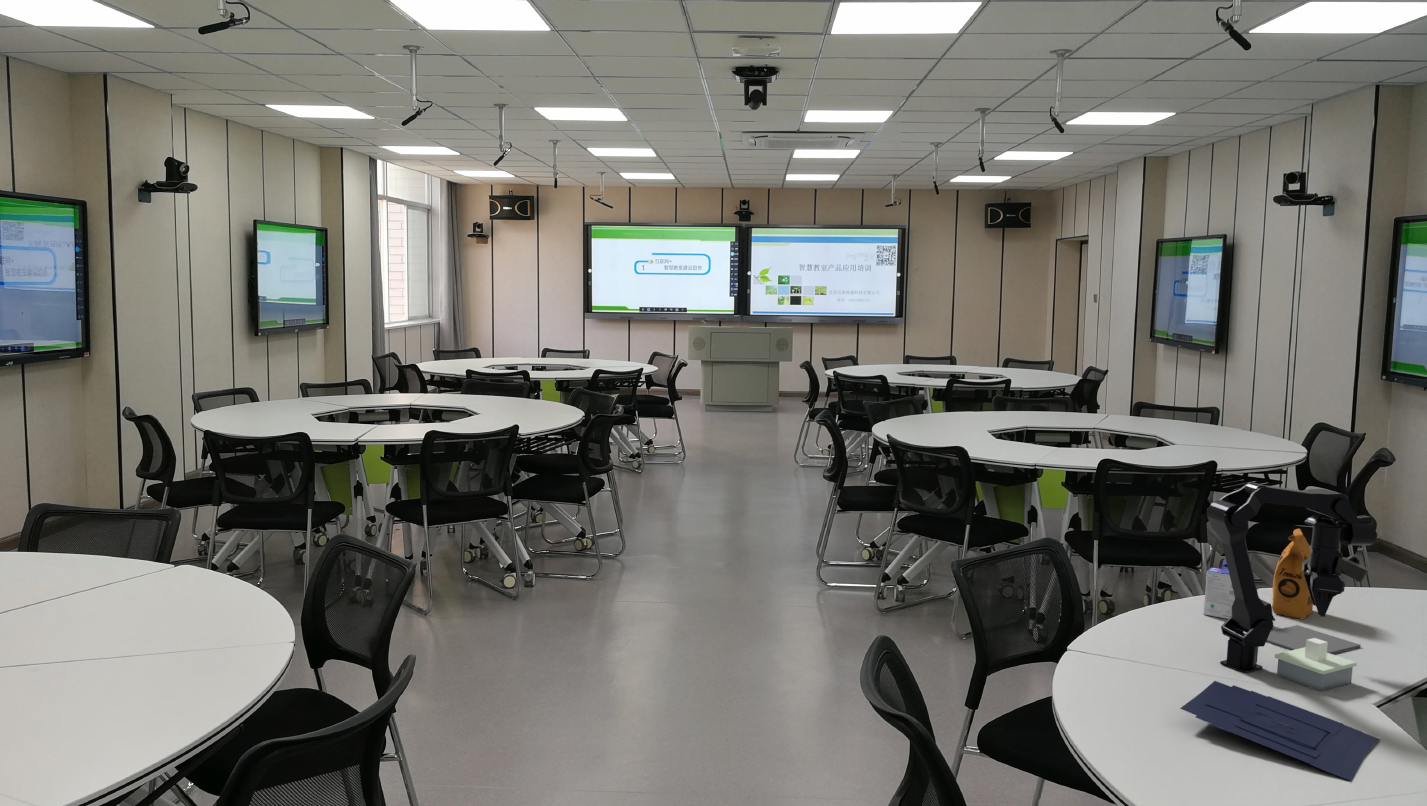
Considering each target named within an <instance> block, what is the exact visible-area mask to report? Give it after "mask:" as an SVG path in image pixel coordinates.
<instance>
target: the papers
mask: <svg viewBox="0 0 1427 806" xmlns="http://www.w3.org/2000/svg"><path fill="white" fill-rule="evenodd" d="M1179 709H1180V710H1183V711H1184V712H1187V713H1190V714H1193V715H1194V716H1195V718H1196V719H1199V720H1201V721H1203V722H1206V723H1209V724H1211V725H1212V726H1213V727H1216V728H1218V729H1221V730H1223V731H1225V732H1228V733H1230V734H1235V735H1237V736H1240V737H1242V738H1245V739H1247V740H1250V741H1252V742H1255V743H1257V744H1260V745H1262V746H1265V747H1267V748H1270V749H1272V750H1274V751H1278V752H1279V753H1283V754H1285V755H1287V756H1290V757H1292V758H1294V759H1297V760H1299V761H1303V762H1305V763H1306V764H1308V765H1310V766H1312V767H1313V766H1314V767H1315V768H1317V769H1320V770H1322V771H1325V772H1327V773H1330V774H1333V775H1335V776H1338V777H1340V778H1343V779H1346V780H1348V781H1351V780H1352V779H1353V777H1354V775H1355V773H1356V771H1357V770H1358V768H1359V765H1360V764H1361V762H1362V760H1363V758H1364V757H1365V756H1366V755H1367V754H1368V752H1370V751H1371V749H1372V748H1373V747H1374V746H1375V745H1376V744H1377V743H1379V741H1380V740H1381V739H1380V738H1378V737H1376V736H1374V735H1370V734H1368V733H1365V732H1363V731H1361V730H1359V729H1356V728H1354V727H1351V726H1349V725H1346V724H1344V723H1342V722H1340V721H1337V720H1334V719H1331V718H1328V717H1327V716H1323V715H1320V714H1318V713H1315V712H1312V711H1311V710H1307V709H1304V708H1301V707H1299V706H1297V705H1293V704H1291V703H1289V702H1285V701H1282V700H1280V699H1278V698H1274V697H1271V696H1267V695H1264V694H1261V693H1258V692H1256V691H1253V690H1249V689H1246V688H1243V687H1241V686H1237V685H1235V684H1233V685H1232V686H1230V685H1227V684H1225V683H1222V682H1220V681H1217V680H1214V681H1212V682H1211V684H1209V685H1208V686H1207V687H1206V688H1204V689H1203V690H1202V691H1201V692H1200V693H1198V694H1197V695H1196V696H1194V697H1193V698H1192V699H1190V700H1189V701H1188V702H1187V703H1185V704H1184V705H1182V706H1181V707H1180V708H1179Z"/></svg>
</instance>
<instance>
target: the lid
mask: <svg viewBox="0 0 1427 806" xmlns="http://www.w3.org/2000/svg"><path fill="white" fill-rule="evenodd" d="M1327 646H1328V642H1326V641H1323V640H1320V639H1317V638H1312V639H1308V640H1306V647H1304V648H1300V649H1295V650H1288V651H1284V652H1278V653H1275V654H1274V658H1275V659H1277V660H1278V659H1280V660H1283V661H1285V662H1288V663H1291V664H1294V665H1297V666H1300V667H1303V668H1306V669H1308V670H1311V671H1314V672H1317V673H1320V674H1327V673H1331V672H1335V671H1339V670H1342V669H1346V668H1350V667H1353V668H1354V667H1357V663H1358V662H1356V661H1354V660H1350V659H1347V658H1344V657H1342V656H1339V655H1336V654H1330V653H1327Z"/></svg>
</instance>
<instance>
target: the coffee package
mask: <svg viewBox="0 0 1427 806" xmlns="http://www.w3.org/2000/svg"><path fill="white" fill-rule="evenodd" d="M1287 539H1288V540H1289V541H1291V542H1290V543H1289V544H1288V545H1287V546H1286V547H1285V548H1284V549H1283V551H1282V552H1281V555H1280V556H1279V559H1278V561H1277V562H1276V563H1277V564H1276V567H1275V571H1274V575H1273V581H1272V604H1271V607H1272V612H1273V613H1274V614H1276V615H1281V616H1283V617H1292V618H1295V619H1299V620H1305V619H1306V617H1307V616H1309V615H1311V614H1312V612H1313V607H1314V605H1313V603H1312V599H1311V596H1310V593H1309V590H1308V587H1307V584H1306V581H1305V578H1304V575H1303V570H1302V563H1303V561H1304V560H1306V559H1310V553H1311V551H1310V550H1309V548H1310V544H1309V543H1308V541H1307V539H1306V537H1305V536H1304V534H1303V532H1302V529H1301V528H1296V529H1294V530H1293V533H1292V534H1291V535H1290V536H1288V538H1287ZM1306 572H1307V571H1306Z"/></svg>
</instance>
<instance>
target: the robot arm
mask: <svg viewBox="0 0 1427 806" xmlns="http://www.w3.org/2000/svg"><path fill="white" fill-rule="evenodd" d="M1265 504H1273V505H1278V506H1279V505H1280V506H1287V507H1294V508H1300V509H1306V510H1309V511H1312V512H1315V513H1313V514H1312V515H1311V516H1310V517H1307V518H1306V520H1304V523H1305V524H1307V525H1308V526H1309V525H1310V526H1312V534H1311V535H1312V536H1311V544H1309V546H1310V548H1309V550H1310V551H1311V553H1310V559H1306V560H1304V561H1303V563H1302V570H1303V575H1304V578H1305V581H1306V584H1307V587H1308V590H1309V593H1310V596H1311V599H1312V603H1313V607H1315V608H1316V610H1317V611H1316V612H1317V613H1318V616H1319V617H1323V618H1324V617H1325V616H1326V614H1327V612H1328V610H1329V608H1330V605H1331V602H1332V600H1333V598H1334V597H1336V596H1337V595H1341V594H1342V593H1344V592H1345V588H1346V587H1345V585H1346V584H1345V582H1344V580H1343V579H1342V578H1341V576H1342V575H1345V576H1347V577H1349V578H1351V579H1353V580H1355V581H1356V582H1359V583H1363V581H1364V579H1365V577H1366V576H1367V574H1368V572H1369V569H1368V568H1367V567H1366V566H1364V564H1361V563H1360V558H1359V557H1357V556H1354V555H1352V554H1351V555H1349V556H1348V557H1346V556H1345V557H1344V555H1343V553H1342V552H1341V544H1342V545H1344V546H1372V545H1374V544H1375V543H1376V542H1377V539H1378V533H1377V530H1376V529H1377V528H1376V526H1375V525H1374V523H1373V522H1372V516H1367V515H1362V514H1361V515H1358V516H1357V514H1356V513H1355V511H1354V509H1353V507H1352V505H1351V501H1350V498H1349V497H1348V496H1347V495H1346V494H1344V493H1340V492H1337V491H1333V490H1331V489H1326V488H1311V489H1307V490H1306V489H1305V490H1300V489H1292V488H1286V487H1280V486H1272V485H1265V484H1261V483H1257V482H1249V483H1246V484H1244V485H1243V486H1242V487H1241V488H1239V489H1237V490H1235V491H1232V492H1229V493H1228V494H1225V495H1224V496H1222V497H1221V498H1220V499H1219V500H1215V501H1213V502H1211V504H1210V505H1209V507H1208V508H1207V510H1206V517H1207V519H1208V522H1209V524H1210V526H1211V528H1212V530H1213V531H1214V533H1215V534H1216V535H1217V537H1218V538H1219V540H1220V542H1221V546H1222V549H1223V553H1224V557H1225V561H1226V562H1227V564H1226V567H1228V570H1229V574H1230V579H1231V583H1232V587H1233V591H1234V595H1235V600H1234V602H1233V605H1232V616H1231V617H1230V618H1229V619H1227V620H1226V621H1224V622H1223V624H1222V625H1221V626H1220V629H1221V632H1222V635H1223V636H1226V637H1228V639H1227V650H1226V659H1224V660H1220V662H1219V664H1221V665H1223V666H1226V667H1228V668H1231V669H1234V670H1237V671H1239V672H1242V673H1250V672H1254V671H1258V670H1262V669H1263V665H1261V664H1257V663H1258V653H1259V648H1260V647H1262V648H1263V647H1265V645H1266V643H1267V642H1266V641H1267V638H1268V636H1269V634H1270V632H1271V631H1273V629H1274V622H1276V618H1275V617H1274V614H1273V609H1272V604H1271V603H1269V602H1267V601H1265V600H1263V599H1260V597H1259V592H1258V589H1257V585H1256V581H1255V580H1256V579H1255V575H1254V572H1253V568H1252V564H1251V560H1250V559H1251V558H1250V555H1249V551H1248V547H1247V542H1246V537H1247V534H1248V531H1249V529H1250V525H1249V521H1251V520H1252V519H1254V517H1256V516H1257V514H1258V512H1260V509H1261V508H1262V506H1263V505H1265ZM1316 513H1318V515H1317V514H1316ZM1319 514H1321V515H1324V516H1326V517H1321V515H1319ZM1335 520H1337V521H1335ZM1306 571H1307V572H1306Z"/></svg>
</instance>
